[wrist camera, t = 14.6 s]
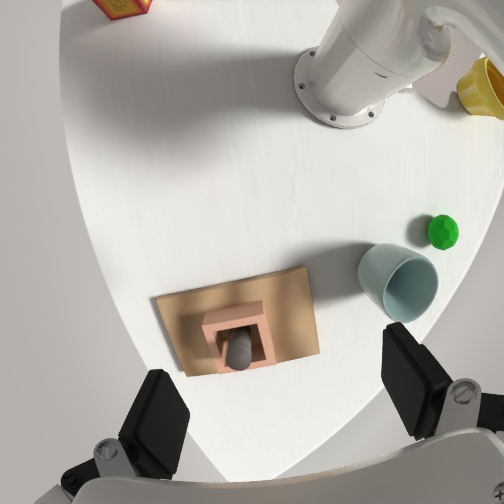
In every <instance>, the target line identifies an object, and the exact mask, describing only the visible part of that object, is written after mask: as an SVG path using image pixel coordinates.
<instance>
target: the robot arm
mask: <svg viewBox="0 0 504 504" xmlns="http://www.w3.org/2000/svg"><path fill="white" fill-rule="evenodd" d="M451 27H453V28H455V29H457V30H458V31H459V32H460V33H462V34H463V35H464V36H465V37H466V38H467V39H468V40H469V41H470V42H471V43H472V44H474V45H476V46H477V47H478V48H479V49H480V50H481V52H482V53H483V54H484V55H485V56H486V57H487V58H488V59H489V60H490V61H491V62H492V64H493V65H494V66H495V67H496V68H497V69H498V70H499V72H500V73H501V74H502V75H503V76H504V0H343V2H342V4H341V5H340V7H339V9H338V11H337V13H336V15H335V17H334V19H333V21H332V22H331V24H330V26H329V28H328V30H327V32H326V34H325V36H324V38H323V40H322V42H321V44H320V46H317V47H314V48H312V49H310V50H308V51H306V52H305V53H304V54H303V55H302V56H301V58H300V59H299V61H298V62H297V65H296V67H295V71H294V87H295V91H296V93H297V95H298V98H299V100H300V101H301V102H302V104H303V105H304V107H305V108H306V109H307V110H308V111H309V112H310V113H311V114H312V115H313V116H315V117H316V118H317V119H319V120H321V121H322V122H324V123H326V124H328V125H331V126H334V127H338V128H344V129H354V128H359V127H362V126H365V125H367V124H369V123H370V122H372V121H374V120H375V119H376V118H377V117H378V116H379V114H380V113H381V111H382V109H383V106H384V103H385V99H387V98H389V97H390V96H392V95H394V94H395V93H397V92H398V93H409V94H410V93H411V92H412V83H414V82H416V81H418V80H420V79H421V78H423V77H425V76H427V75H428V74H430V73H432V72H433V71H435V70H437V69H438V68H439V67H441V65H442V64H443V63H444V62H445V61H446V59H447V57H448V55H449V53H450V48H451ZM310 55H311V56H310ZM299 87H302V88H303V89H300V88H299ZM369 115H370V117H369ZM330 118H332V119H333V121H331V120H330ZM381 378H382V381H383V384H384V386H385V387H386V389H387V391H388V393H389V395H390V397H391V399H392V401H393V403H394V405H395V407H396V409H397V411H398V413H399V415H400V417H401V419H402V421H403V423H404V426H405V428H406V430H407V432H408V434H409V435H410V436H414V438H415V440H416V441H418V440H420V439H422V438H425V440H422V441H420V442H417V443H414V444H411V445H409V446H406V447H404V448H401V449H399V450H396V451H393V452H390V453H387V454H385V455H382V456H378V457H376V458H372V459H369V460H366V461H363V462H359V463H356V464H352V465H348V466H345V467H341V468H337V469H332V470H328V471H323V472H319V473H313V474H308V475H302V476H296V477H290V478H283V479H274V480H264V481H251V482H228V483H205V482H204V483H203V482H184V481H171V480H172V475H173V474H175V473H176V471H177V467H178V463H179V459H180V455H181V451H182V446H183V443H184V439H185V435H186V431H187V427H188V423H189V419H190V412H189V409H188V408H187V406H186V404H185V403H184V401H183V399H182V397H181V396H180V394H179V392H178V390H177V389H176V387H175V385H174V383H173V381H172V379H171V378H170V376H169V374H168V373H167V372H165V371H164V370H163V369H153V370H150V371H149V372H148V374H147V376H146V378H145V380H144V382H143V384H142V386H141V388H140V390H139V392H138V394H137V396H136V398H135V400H134V402H133V405H132V407H131V409H130V411H129V413H128V415H127V417H126V419H125V421H124V424H123V426H122V428H121V430H120V432H119V434H118V436H119V438H118V440H117V439H114V438H108V439H104V440H102V441H100V442H99V443H98V444H97V445H96V447H95V448H94V452H93V453H94V458H92V459H90V460H88V461H86V462H84V463H82V464H80V465H78V466H75V467H73V468H71V469H69V470H67V471H66V472H65V473H64V474H63V475H62V478H61V486H60V485H58V484H57V485H56V486H54V487H53V488H52V489H51V490H49V491H48V492H47V493H46V494H45V495H43V496H42V497H40V498H39V499H38V500H37V501H36V502H35V503H34V504H504V395H497V394H488V393H481V388H480V385H479V384H478V383H477V382H476V381H474V380H472V379H468V378H463V379H459V380H456V381H455V382H454V381H453V380H452V379H451V378H450V376H449V375H448V374H447V373H446V371H445V370H444V369H443V367H442V366H441V365H440V364H439V362H438V361H437V360H436V359H435V357H434V356H433V355H432V354H431V353H430V351H429V350H428V349H427V348H426V346H424V345H423V344H420V345H419V343H418V342H417V341H416V340H415V339H414V337H413V336H412V335H411V334H410V333H409V331H408V330H407V329H406V328H405V327H404V325H403V324H402V323H401V322H400V321H398V322H395V323H392V324H389V325H387V326H386V329H384V330H383V346H382V369H381ZM160 479H167V480H160Z"/></svg>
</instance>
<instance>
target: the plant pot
mask: <svg viewBox="0 0 504 504" xmlns="http://www.w3.org/2000/svg"><path fill="white" fill-rule="evenodd" d="M457 94H458V97H459V100H460V102H461V104H462V105H463V107H464V108H465V109H466V110H467V111H468V112H469V113H470V114H472V115H480V116H493V117H496V118H498V119H500V120H504V76H503V75H502V74H501V73H500V72H499V70H498V69H497V68H496V67H495V66H494V65H493V64H492V62H491V61H490V60H489V59H488V58H487V57H483V58H481V59H479V60H477V61H476V62H475V63H474V64H473V67H472V69H471V71H469V72H468V73H467V74H466V75H465V76H464V77H463V78H462V79H461V80H460V81H459V82H458V83H457Z"/></svg>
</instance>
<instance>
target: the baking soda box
mask: <svg viewBox="0 0 504 504" xmlns="http://www.w3.org/2000/svg"><path fill="white" fill-rule="evenodd" d="M92 1H93V2H94V3H95V4H96V5H97V6H98V7H99V8H100V9H101V10H102V11H103V12H104V13H105V14H106V15H107V17H108V18H109V19H110V20H111V21H112V20H116V19H121V18H125V17H130V16H135V15H141V14H147V12H148V10H149V7H150V4H151V2H152V0H92Z"/></svg>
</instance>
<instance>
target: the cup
mask: <svg viewBox="0 0 504 504" xmlns="http://www.w3.org/2000/svg"><path fill="white" fill-rule="evenodd" d="M357 272H358V279H359V282H360V285H361V287H362V288H363V290H364V292H365V293H366V294H367V296H368V297H369V298H370V299H371V300H372V301H373V303H374V304H375V305H376V306H377V307H378V308H379V309H380V310H381V311H382V312H383V313H384V314H385V315H387V316H388V317H389V318H390V319H392V320H394V321H396V322H398V321H400V322H401V323H409V322H411V321H414V320H415V319H417V318H419V317H420V316H421V315H422V314H423V313H424V312H425V311H426V310H427V309H428V308H429V306H430V305H431V303H432V302H433V300H434V298H435V295H436V293H437V289H438V275H437V272H436V269H435V267H434V265H433V264H432V263H431V262H430V261H429V260H428V259H427V258H425V257H424V256H422V255H421V254H419V253H416V252H414V251H412V250H409V249H407V248H404V247H401V246H399V245H395V244H390V243H382V244H378V245H375V246H373V247H372V248H370V249H369V250H368V251H367V252H366V253H365V254H364V255H363V257H362V258H361V260H360V262H359V265H358V271H357Z"/></svg>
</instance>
